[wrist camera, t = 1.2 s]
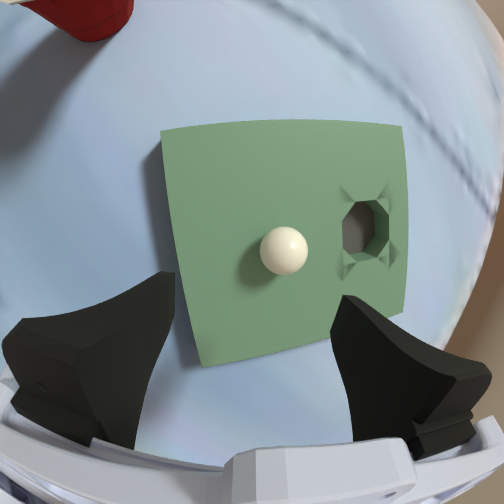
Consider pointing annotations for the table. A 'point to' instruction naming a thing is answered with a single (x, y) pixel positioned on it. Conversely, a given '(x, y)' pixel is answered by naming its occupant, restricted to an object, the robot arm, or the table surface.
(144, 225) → the table surface
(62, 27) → the plastic cup
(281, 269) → the ball
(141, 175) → the table surface
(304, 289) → the putting board
